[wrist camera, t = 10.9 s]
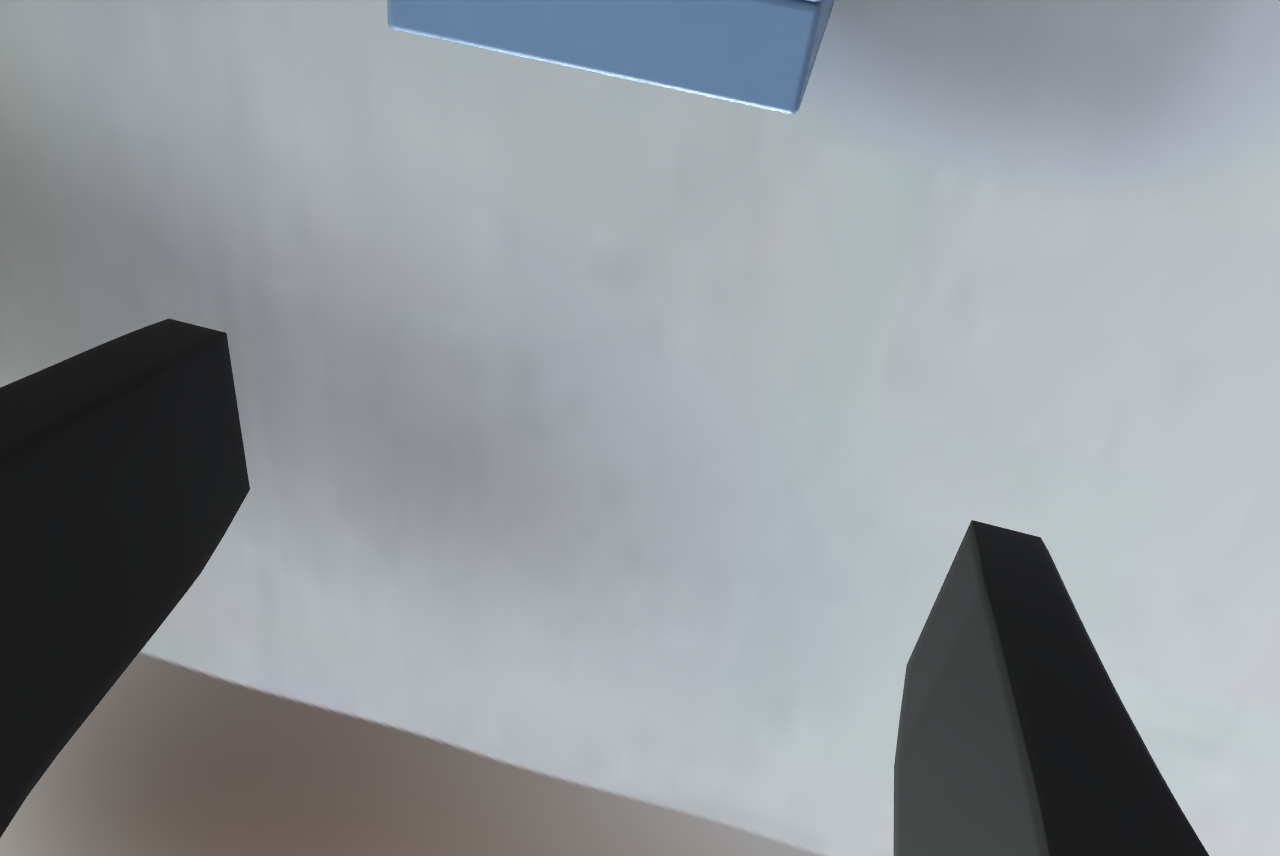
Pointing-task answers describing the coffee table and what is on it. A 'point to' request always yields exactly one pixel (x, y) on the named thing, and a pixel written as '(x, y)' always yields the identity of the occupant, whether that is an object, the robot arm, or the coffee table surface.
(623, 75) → the blue block
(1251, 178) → the coffee table surface
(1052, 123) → the coffee table surface
